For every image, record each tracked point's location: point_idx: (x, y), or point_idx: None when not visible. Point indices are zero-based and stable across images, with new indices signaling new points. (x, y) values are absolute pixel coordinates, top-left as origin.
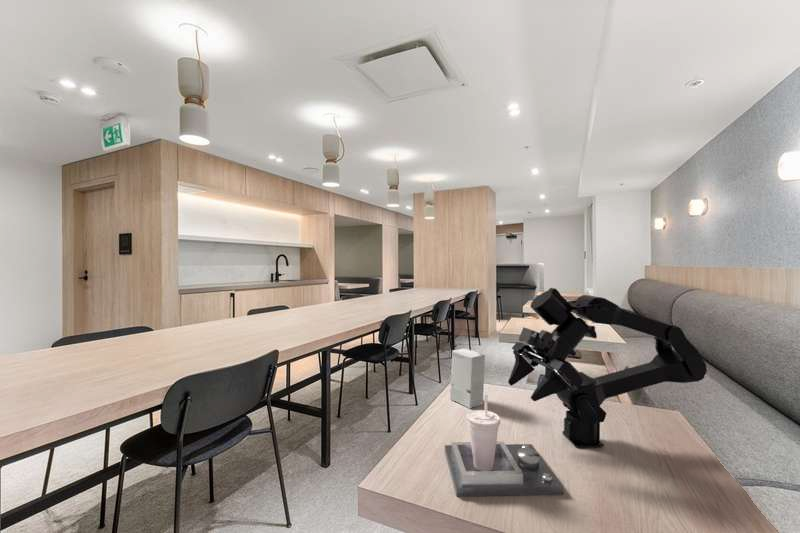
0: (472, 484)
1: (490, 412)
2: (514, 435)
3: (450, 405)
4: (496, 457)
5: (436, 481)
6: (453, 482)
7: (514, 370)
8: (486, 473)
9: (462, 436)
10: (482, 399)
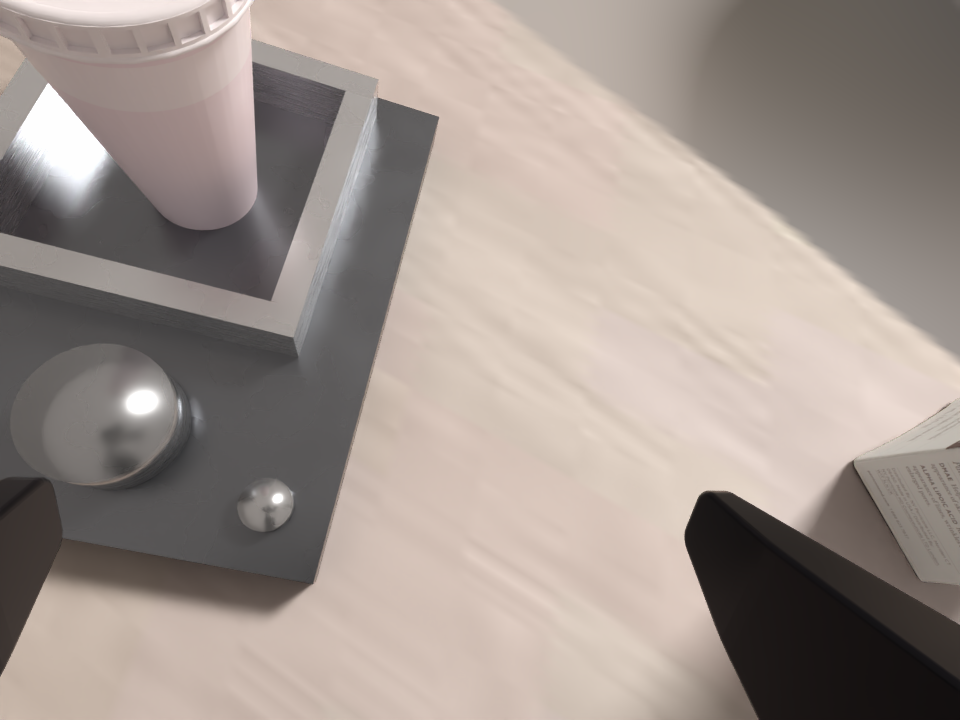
0: None
1: (154, 4)
2: (512, 575)
3: (888, 371)
4: (250, 286)
5: None
6: None
7: (927, 644)
8: (26, 80)
9: (553, 277)
10: (948, 577)
